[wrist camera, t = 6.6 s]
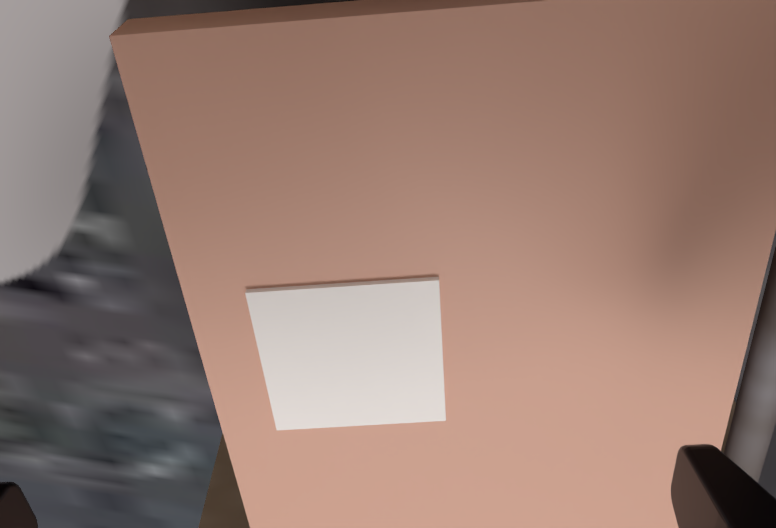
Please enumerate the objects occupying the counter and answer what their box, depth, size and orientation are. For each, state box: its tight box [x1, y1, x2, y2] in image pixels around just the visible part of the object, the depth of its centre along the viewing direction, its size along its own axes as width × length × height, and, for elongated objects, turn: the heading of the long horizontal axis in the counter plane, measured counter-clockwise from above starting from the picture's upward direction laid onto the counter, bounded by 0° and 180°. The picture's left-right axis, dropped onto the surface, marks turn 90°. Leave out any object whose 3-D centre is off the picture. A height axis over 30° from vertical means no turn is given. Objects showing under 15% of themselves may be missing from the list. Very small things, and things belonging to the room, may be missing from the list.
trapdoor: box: [109, 0, 776, 528], centre depth 12 cm, size 14×11×2 cm
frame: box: [199, 248, 776, 528], centre depth 16 cm, size 14×15×9 cm
